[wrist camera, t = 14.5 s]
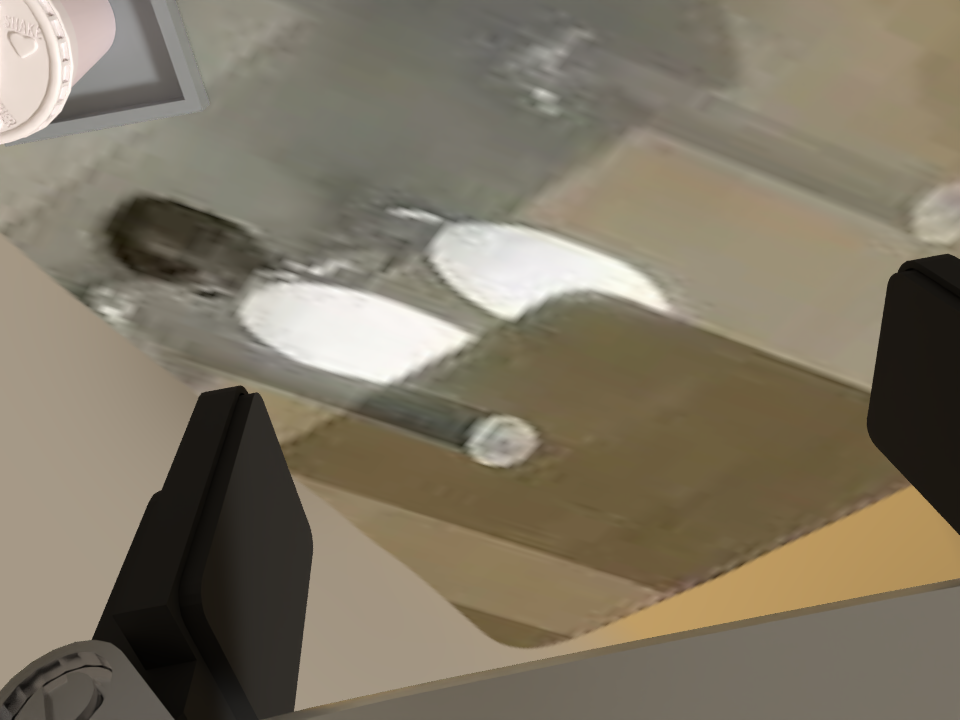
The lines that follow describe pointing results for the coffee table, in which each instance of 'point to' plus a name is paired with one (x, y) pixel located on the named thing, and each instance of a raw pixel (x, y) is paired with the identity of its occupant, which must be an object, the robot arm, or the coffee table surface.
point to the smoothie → (46, 57)
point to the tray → (134, 75)
